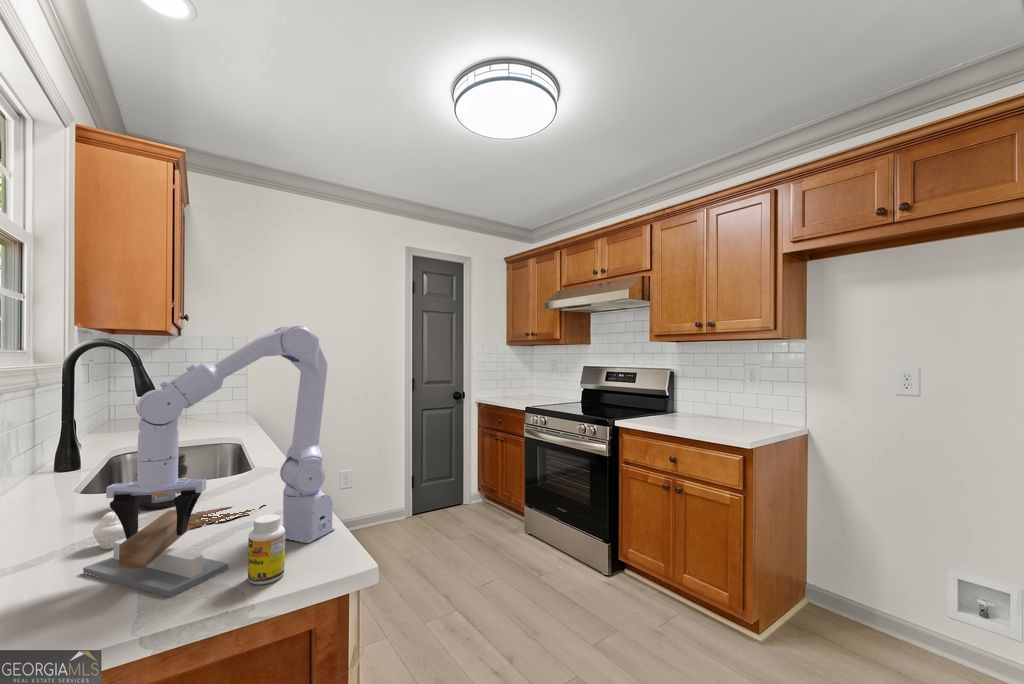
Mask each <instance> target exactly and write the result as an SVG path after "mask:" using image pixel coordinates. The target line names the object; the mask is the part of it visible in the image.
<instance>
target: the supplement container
mask: <svg viewBox="0 0 1024 684" xmlns="http://www.w3.org/2000/svg"><path fill="white" fill-rule="evenodd" d="M186 457H187V456H186V453H184V452H181V451H178V478H180V479H188V470H189V468H188V465H187V464H186V463H185V462H186ZM134 477H135V482H137V470H136V471H135V474H134ZM178 495H181V493H169V494H152V495H142V496H141V500H140V505H139V510H144V511H145V510H146V511H147V510H149V511H150V510H151V511H153V510H160V509H165V508H166V509H167V508H171V507H174V506H175V502H174V498H175V497H177V496H178Z"/></svg>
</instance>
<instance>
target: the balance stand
mask: <svg viewBox="0 0 1024 684" xmlns="http://www.w3.org/2000/svg"><path fill="white" fill-rule="evenodd" d="M126 540H127V539H126V538H125V539H122V540H119V541H116V542H114V548H113V556H112V557H108V558H106V559H103V560H100V561H97V562H96V563H92V564H90V565H87V566H84V567H82V573H83V572H84V573H87V574H91V575H94V576H97V577H96V578H98V577H100V578H99V579H101V578H102V580H106V581H109V582H112V583H115V584H116V583H117V584H120V585H122V586H123V585H124V586H127V587H130V588H134V589H137V590H141V591H145V592H149V593H152V594H156V595H160V596H163V597H166V598H172V597H174V596H175V595H179V594H180V593H182V592H183V591H186V590H188V589H190V588H192V587H195V586H196V585H198V584H200V583H202V582H205V581H207V580H208V579H210V578H213V577H215V576H217V575H218V574H221V573H223V572H225V571H227V570H228V569H229V563H228V562H223V561H219V560H215V559H210V558H206V557H203V554H200V553H195V552H191V551H186V550H183V549H179V548H173V547H170V546H169V547H168V548H167V549H166V550H165V551H163V552H162V553H161V554H160V555H159V556H158V557H156V558H155V559H154V560H153V561H152V562H151V563H149V564H148V565H147V566H146V567H145V568H136V569H125V570H119V545H120V544H121V543H123V542H124V541H126ZM87 574H86V575H87ZM94 576H93V577H94Z"/></svg>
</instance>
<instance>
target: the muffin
mask: <svg viewBox="0 0 1024 684" xmlns="http://www.w3.org/2000/svg"><path fill="white" fill-rule="evenodd" d="M92 535H93V537H94V539H95V541H96V542H97V543H98V544H99V546H100V547H101V548H102V549H103V550H114V542H116V541H119V540H122V539H125V538H126V536H125V532H124V529H123V527H122V524H121V522H120V520H119V518H118V517H117V515H116V514H115V512H114V511H113V510H112V511H108V512H106V513H105V514H103V516H102V518H101V520H100V521H99V522H98V524H97V525H96V526H95V527H94V528H93V530H92Z"/></svg>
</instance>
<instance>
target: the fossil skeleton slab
mask: <svg viewBox="0 0 1024 684" xmlns="http://www.w3.org/2000/svg"><path fill="white" fill-rule="evenodd" d="M232 507H233V506H227V507H220V508H213V509H208V510H202V511H197V512H194V513H191V516H190V519H189V530H191V529H198V528H200V527H201V528H202V527H203V526H202V525H204V524H209V522H210V523H212V524H214V523H213V522H216V521H218V522H219V523H224V522H223V521H219V520H221V519H225V520H227V519H226V517H227V518H228V517H230V516H236V515H238V514H239V513H242V514H239V515H244V514H248V513H246V512H251V511H252V510H255V509H252V510H246V511H244V512H239V513H233V514H230V513H227V514H220V515H219V516H221V515H223V516H221V517H218V516H208V514H211V513H215V514H216V512H219V511H223V510H227V509H230V508H232ZM203 515H207V516H203ZM211 515H213V514H211ZM212 517H217V518H212ZM201 518H208V519H202V520H201ZM209 519H210V520H209ZM229 519H230V518H229ZM206 520H208V521H206ZM209 525H210V524H209ZM204 526H205V525H204Z"/></svg>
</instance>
